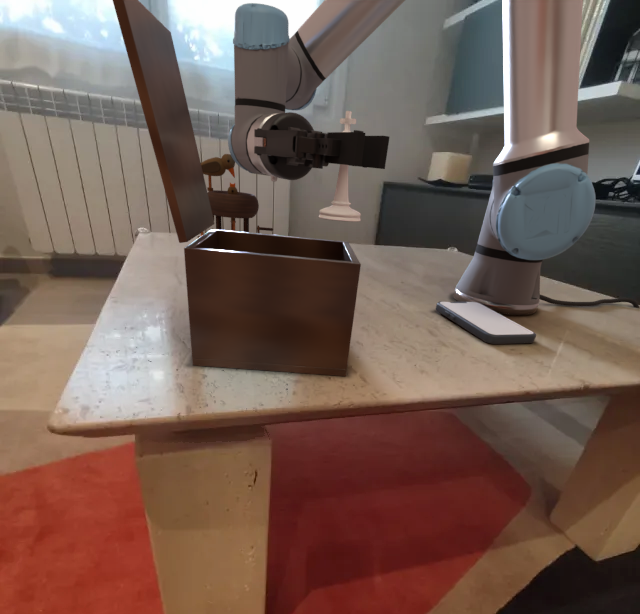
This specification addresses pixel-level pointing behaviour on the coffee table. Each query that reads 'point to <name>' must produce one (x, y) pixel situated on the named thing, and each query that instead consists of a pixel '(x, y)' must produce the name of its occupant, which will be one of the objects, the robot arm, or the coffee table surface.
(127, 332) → the coffee table surface
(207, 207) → the lid
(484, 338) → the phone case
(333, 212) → the chess piece
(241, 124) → the robot arm
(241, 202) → the bird figurine
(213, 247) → the chest
